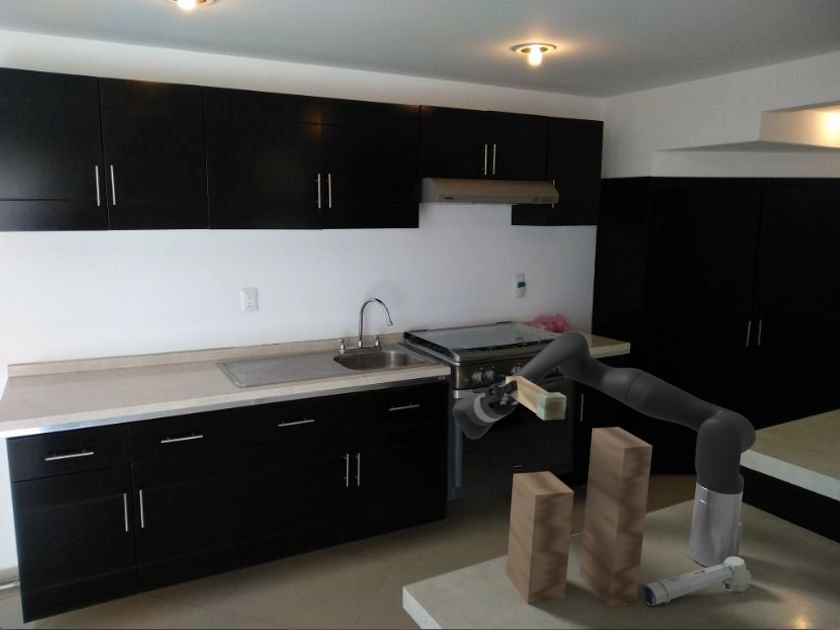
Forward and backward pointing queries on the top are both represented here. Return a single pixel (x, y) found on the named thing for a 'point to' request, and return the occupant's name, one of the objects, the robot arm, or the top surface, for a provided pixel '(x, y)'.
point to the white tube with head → (698, 581)
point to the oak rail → (539, 399)
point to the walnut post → (615, 514)
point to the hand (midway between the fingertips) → (524, 384)
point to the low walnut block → (539, 536)
